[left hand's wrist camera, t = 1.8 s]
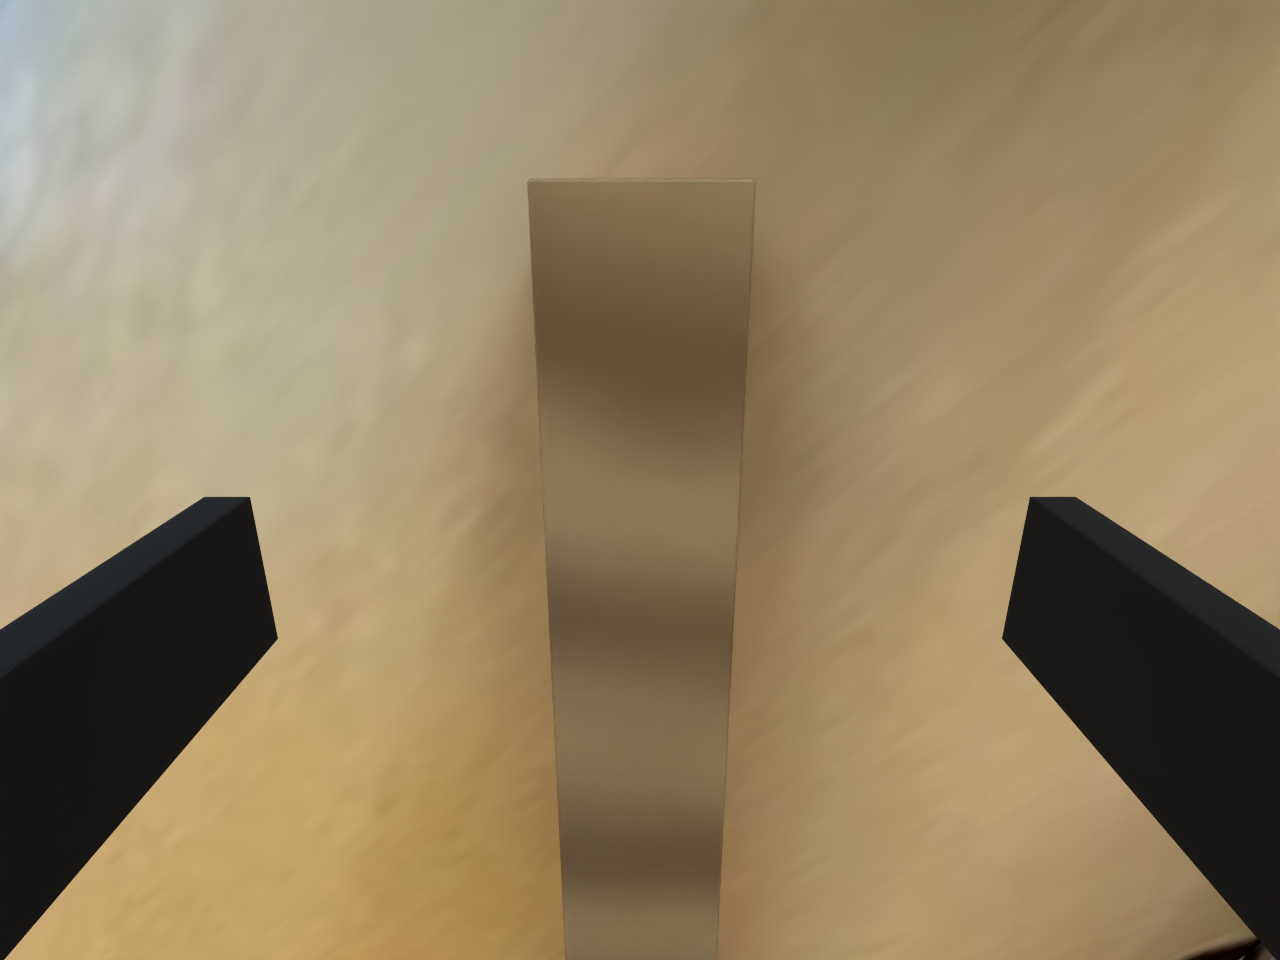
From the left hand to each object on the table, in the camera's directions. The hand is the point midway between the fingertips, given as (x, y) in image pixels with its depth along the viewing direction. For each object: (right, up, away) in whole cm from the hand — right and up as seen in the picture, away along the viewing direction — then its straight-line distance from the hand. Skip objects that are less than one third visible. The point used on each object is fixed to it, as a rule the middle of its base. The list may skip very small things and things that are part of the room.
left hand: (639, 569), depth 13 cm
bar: (0, -22, +22) cm, 32 cm away
